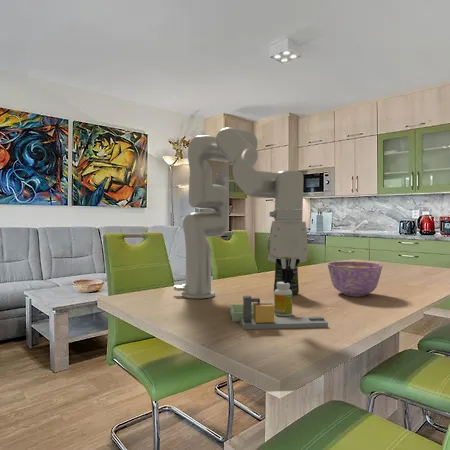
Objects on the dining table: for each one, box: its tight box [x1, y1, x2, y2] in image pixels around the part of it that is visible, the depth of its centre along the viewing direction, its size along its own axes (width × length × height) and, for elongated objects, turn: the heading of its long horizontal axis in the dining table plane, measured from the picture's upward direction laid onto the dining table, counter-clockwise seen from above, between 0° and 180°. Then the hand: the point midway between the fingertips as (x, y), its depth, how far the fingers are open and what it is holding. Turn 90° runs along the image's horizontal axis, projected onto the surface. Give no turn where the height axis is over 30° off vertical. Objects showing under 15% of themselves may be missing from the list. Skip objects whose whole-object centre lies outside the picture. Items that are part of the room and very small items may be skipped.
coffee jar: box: [273, 258, 300, 296], centre depth 141 cm, size 10×8×19 cm
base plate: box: [240, 316, 329, 330], centre depth 100 cm, size 23×6×2 cm, turn 94°
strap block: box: [252, 301, 275, 323], centre depth 100 cm, size 5×5×5 cm
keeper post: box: [242, 295, 261, 323], centre depth 100 cm, size 4×2×8 cm, turn 94°
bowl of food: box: [327, 261, 383, 297], centre depth 141 cm, size 20×20×12 cm
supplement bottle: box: [273, 282, 293, 317], centre depth 112 cm, size 5×5×10 cm
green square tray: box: [229, 303, 253, 323], centre depth 109 cm, size 10×10×2 cm
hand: (286, 282), depth 101 cm, fingers closed
